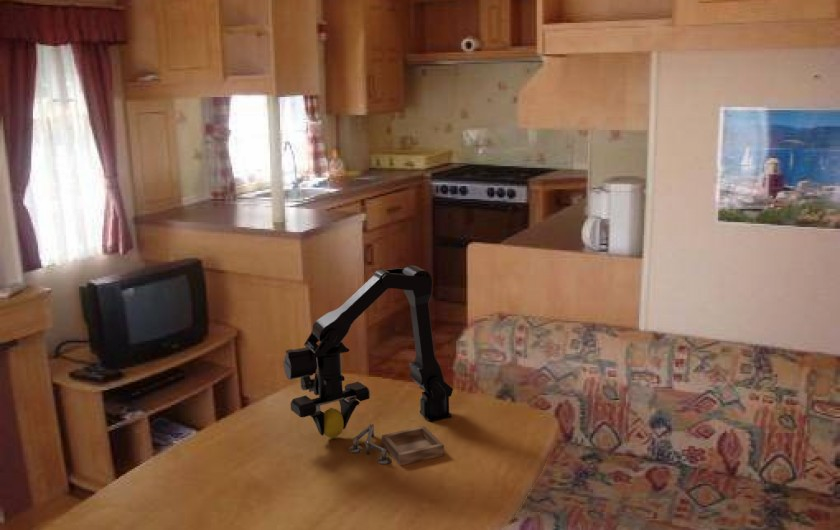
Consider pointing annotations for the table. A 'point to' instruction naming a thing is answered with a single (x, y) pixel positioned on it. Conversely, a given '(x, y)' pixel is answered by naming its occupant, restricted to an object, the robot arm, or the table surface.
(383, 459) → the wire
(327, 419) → the lemon
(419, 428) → the tray
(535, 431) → the table surface
